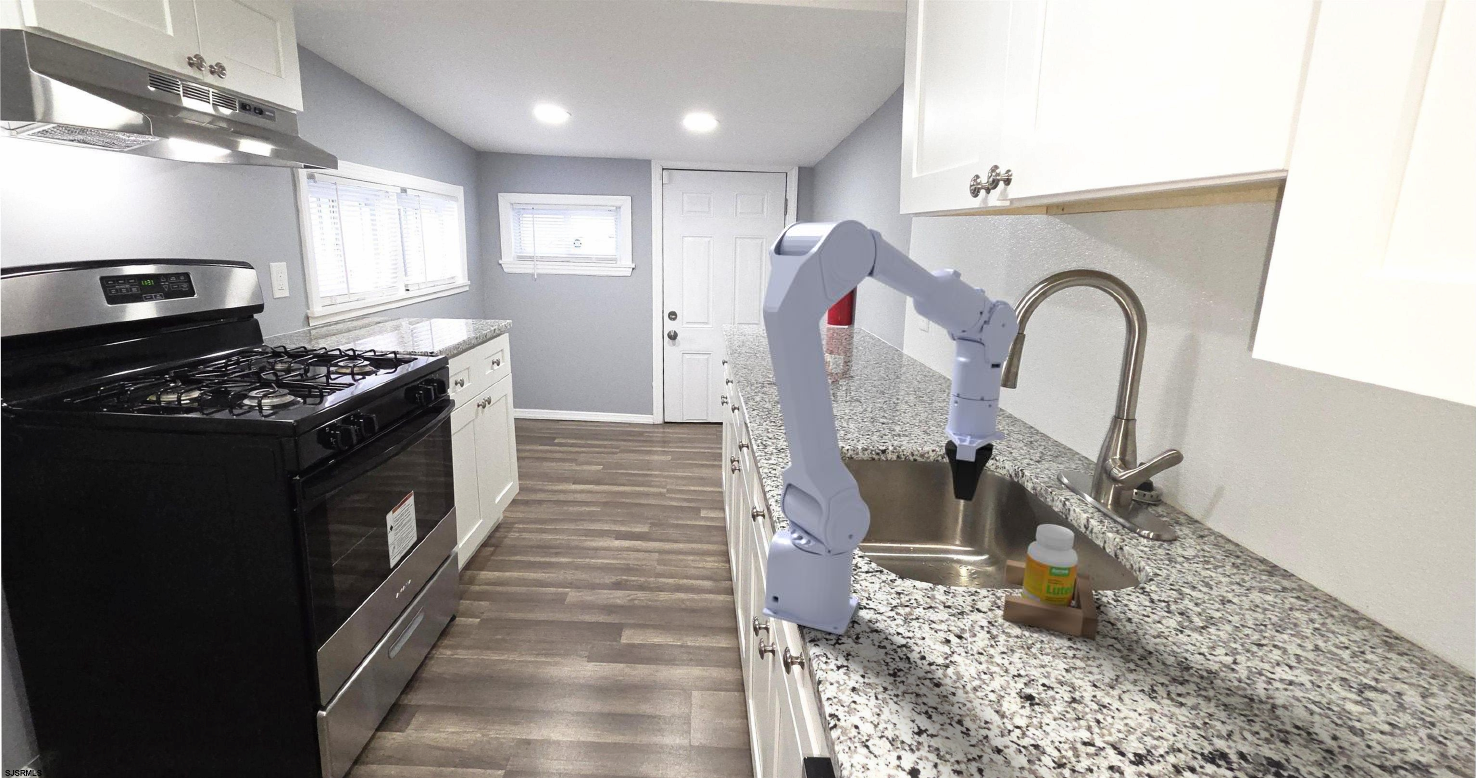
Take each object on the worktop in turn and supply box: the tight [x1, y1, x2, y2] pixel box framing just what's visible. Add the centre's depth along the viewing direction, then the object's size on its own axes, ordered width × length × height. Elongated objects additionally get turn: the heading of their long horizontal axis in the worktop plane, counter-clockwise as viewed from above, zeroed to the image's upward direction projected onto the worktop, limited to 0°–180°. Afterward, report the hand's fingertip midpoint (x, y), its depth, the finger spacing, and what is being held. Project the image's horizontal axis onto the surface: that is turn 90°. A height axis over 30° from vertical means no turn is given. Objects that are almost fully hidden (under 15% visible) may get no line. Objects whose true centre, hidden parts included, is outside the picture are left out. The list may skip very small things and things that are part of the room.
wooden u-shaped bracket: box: [1002, 559, 1099, 641], centre depth 78 cm, size 10×11×2 cm
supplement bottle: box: [1021, 523, 1079, 607], centre depth 78 cm, size 5×5×10 cm
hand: (963, 498), depth 84 cm, fingers closed
